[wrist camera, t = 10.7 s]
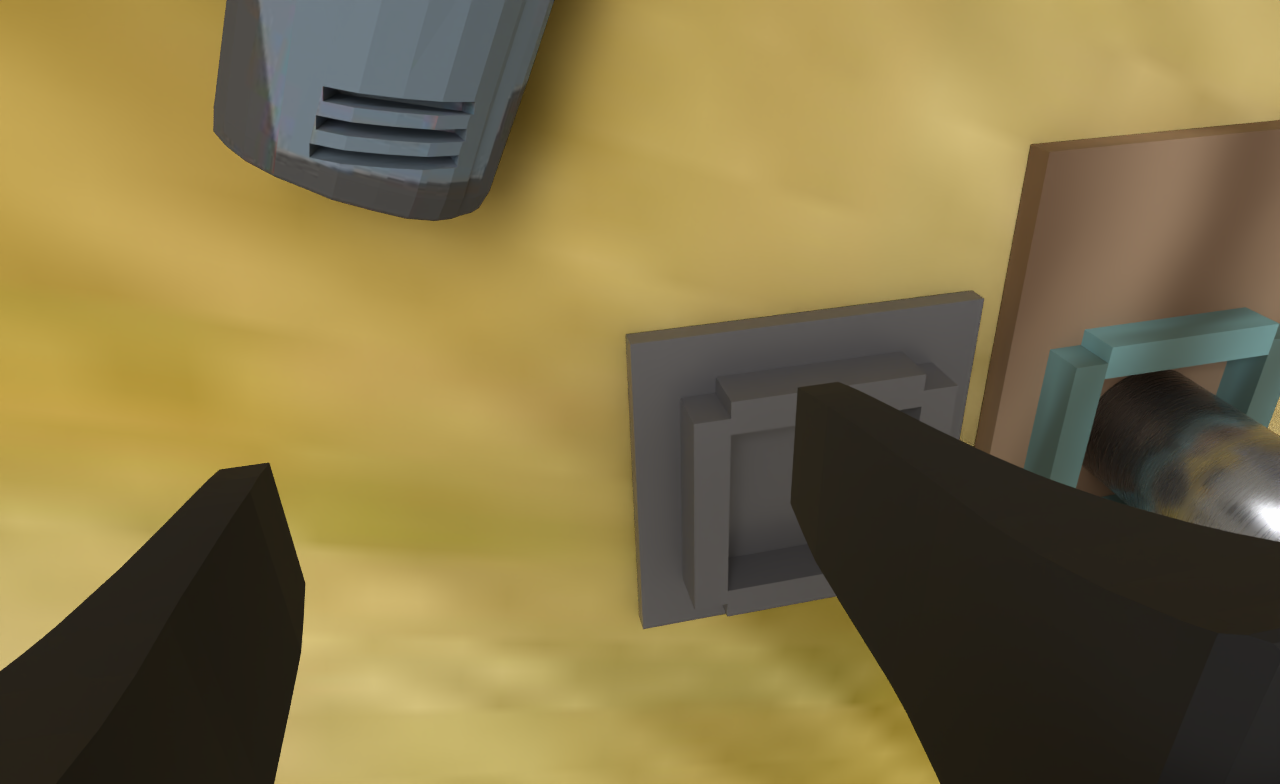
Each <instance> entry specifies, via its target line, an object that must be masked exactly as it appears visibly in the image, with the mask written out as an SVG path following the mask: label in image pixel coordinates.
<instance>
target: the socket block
mask: <svg viewBox="0 0 1280 784" xmlns="http://www.w3.org/2000/svg"><path fill="white" fill-rule="evenodd" d="M983 302H984V298H982V297H981V296H980V295H978V294H977V293H975V292H974V291H964V292H956V293H949V294H941V295H933V296H925V297H917V298H909V299H901V300H893V301H886V302H878V303H870V304H862V305H854V306H846V307H838V308H830V309H823V310H815V311H807V312H799V313H791V314H783V315H775V316H767V317H760V318H752V319H744V320H736V321H728V322H720V323H712V324H704V325H697V326H689V327H681V328H673V329H665V330H657V331H649V332H641V333H634V334H626V354H627V374H628V395H629V416H630V437H631V458H632V479H633V499H634V520H635V541H636V562H637V583H638V604H639V617H640V620H641V624H642V627H643V629H646V628H652V627H657V626H662V625H668V624H673V623H679V622H684V621H689V620H695V619H700V618H705V617H711V616H716V615H722V614H726V615H727V616H733V615H738V614H744V613H749V612H754V611H760V610H765V609H770V608H776V607H781V606H787V605H792V604H797V603H803V602H808V601H813V600H819V599H824V598H829V597H835V596H836V595H835V593H834V591H833V590H832V588H831V586H830V585H829V583H828V581H827V580H826V578H825V577H824V575H823V573H822V572H821V570H820V568H819V566H818V565H817V563H816V561H815V559H814V557H813V555H812V553H811V551H810V548H809V546H808V544H807V542H806V540H805V537H804V535H803V533H802V530H801V528H800V525H799V523H798V521H797V518H796V516H795V513H794V511H793V509H792V506H791V504H790V500H791V484H792V469H793V453H794V437H795V421H796V406H797V390H798V387H804V386H811V385H818V384H825V383H832V382H840V383H843V384H845V385H848V386H850V387H852V388H855V389H857V390H859V391H861V392H863V393H865V394H867V395H869V396H872V397H874V398H876V399H878V400H880V401H882V402H884V403H886V404H888V405H890V406H892V407H894V408H896V409H897V410H899V411H901V412H903V413H905V414H907V415H909V416H911V417H913V418H915V419H917V420H919V421H921V422H923V423H925V424H927V425H929V426H931V427H933V428H935V429H937V430H939V431H941V432H943V433H945V434H947V435H950V436H952V437H954V438H956V439H958V440H959V439H960V433H961V427H962V422H963V416H964V410H965V405H966V399H967V393H968V388H969V382H970V376H971V370H972V365H973V359H974V353H975V348H976V342H977V336H978V331H979V325H980V319H981V313H982V308H983Z"/></svg>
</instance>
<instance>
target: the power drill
mask: <svg viewBox="0 0 1280 784" xmlns="http://www.w3.org/2000/svg"><path fill="white" fill-rule="evenodd" d="M553 3H554V0H227V2H226V10H225V18H224V27H223V35H222V44H221V52H220V60H219V69H218V77H217V85H216V94H215V102H214V127H213V131H214V132H215V134H216V135H217V136H218V137H219V138H220V139H221V141H222V142H223V143H224V144H225V145H226V146H227V147H228V148H229V149H231V150H232V151H233V152H235V153H236V154H237V155H238V156H240V157H241V158H242V159H244V160H245V161H246V162H248V163H250V164H252V165H254V166H256V167H258V168H260V169H261V170H263V171H265V172H267V173H269V174H271V175H273V176H275V177H277V178H280V179H282V180H285V181H287V182H290V183H292V184H295V185H297V186H300V187H302V188H305V189H307V190H310V191H312V192H314V193H317V194H319V195H322V196H324V197H327V198H329V199H331V200H335V201H339V202H342V203H346V204H350V205H353V206H357V207H361V208H365V209H368V210H372V211H376V212H381V213H385V214H389V215H393V216H398V217H402V218H406V219H418V220H431V221H437V220H445V219H452V218H455V217H458V216H460V215H464V214H468V213H471V212H473V211H474V210H476V209H478V208H479V207H480V205H481V203H482V202H483V200H484V199H485V197H486V196H487V194H488V192H489V191H490V188H491V185H492V182H493V179H494V176H495V173H496V171H497V168H498V165H499V162H500V159H501V156H502V153H503V150H504V148H505V145H506V142H507V139H508V136H509V133H510V130H511V127H512V125H513V122H514V119H515V116H516V113H517V110H518V107H519V105H520V102H521V99H522V96H523V93H524V90H525V87H526V84H527V82H528V79H529V76H530V73H531V69H532V66H533V63H534V60H535V57H536V54H537V51H538V48H539V45H540V42H541V39H542V36H543V33H544V30H545V27H546V24H547V21H548V18H549V15H550V12H551V9H552V6H553Z"/></svg>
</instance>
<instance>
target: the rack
mask: <svg viewBox="0 0 1280 784" xmlns="http://www.w3.org/2000/svg"><path fill="white" fill-rule="evenodd" d="M1169 369H1172V370H1175V371H1177V372H1179V373H1181V374H1183V375H1184V376H1186V377H1187V378H1189V379H1191V380H1192V381H1194V382H1195V383H1197V384H1198V385H1200V386H1202V387H1203V388H1205V389H1206V390H1208V391H1209V392H1211V393H1213V394H1214V395H1216V396H1217V397H1219V398H1221V399H1222V400H1224V401H1225V402H1227V403H1228V404H1230V405H1232V406H1233V407H1235V408H1236V409H1238V410H1239V411H1241V412H1243V413H1244V414H1246V415H1247V416H1249V417H1251V418H1252V419H1254V420H1255V421H1257V422H1258V423H1260V424H1262V425H1263V426H1265V427H1266V428H1268V425H1269V423H1270V420H1271V418H1272V415H1273V412H1274V410H1275V407H1276V404H1277V402H1278V399H1279V397H1280V120H1277V121H1267V122H1257V123H1246V124H1236V125H1226V126H1216V127H1205V128H1195V129H1185V130H1174V131H1164V132H1154V133H1143V134H1133V135H1123V136H1113V137H1102V138H1092V139H1082V140H1071V141H1061V142H1051V143H1041V144H1031V147H1030V152H1029V158H1028V163H1027V168H1026V174H1025V179H1024V185H1023V190H1022V195H1021V201H1020V206H1019V211H1018V217H1017V222H1016V227H1015V233H1014V238H1013V243H1012V249H1011V254H1010V260H1009V265H1008V270H1007V276H1006V281H1005V286H1004V292H1003V297H1002V302H1001V308H1000V313H999V318H998V324H997V329H996V334H995V340H994V345H993V351H992V356H991V361H990V367H989V372H988V377H987V383H986V388H985V393H984V399H983V404H982V409H981V415H980V420H979V425H978V431H977V436H976V442H975V448H977V449H979V450H981V451H984V452H986V453H988V454H990V455H993V456H995V457H997V458H1000V459H1002V460H1004V461H1007V462H1009V463H1011V464H1014V465H1016V466H1018V467H1021V468H1023V469H1025V470H1028V471H1030V472H1033V473H1035V474H1038V475H1040V476H1043V477H1046V478H1048V479H1051V480H1053V481H1056V482H1059V483H1062V484H1065V485H1068V486H1071V487H1073V488H1076V489H1079V490H1082V491H1085V492H1088V493H1091V494H1094V495H1096V496H1099V497H1102V498H1105V499H1108V500H1112V501H1115V502H1118V503H1121V504H1125V505H1127V504H1126V503H1125V502H1124V501H1123V500H1121V499H1120V498H1119V497H1118V496H1117V495H1116V494H1115V493H1113V492H1112V491H1111V490H1110V489H1109V488H1108V487H1106V486H1105V485H1104V484H1103V483H1102V482H1101V481H1100V480H1098V479H1097V478H1096V477H1095V476H1094V475H1093V474H1091V473H1090V472H1089V471H1088V470H1087V469H1086V468H1085V467H1084V466H1083V465H1082V463H1083V459H1084V456H1085V452H1086V448H1087V444H1088V440H1089V437H1090V433H1091V429H1092V425H1093V421H1094V418H1095V414H1096V410H1097V406H1098V402H1099V399H1100V398H1101V397H1102V396H1103V395H1104V394H1105V393H1106V392H1107V391H1108V390H1109V389H1111V388H1112V387H1113V386H1114V385H1116V384H1117V383H1119V382H1120V381H1122V380H1124V379H1125V378H1127V377H1129V376H1131V375H1136V374H1143V373H1149V372H1156V371H1163V370H1169Z"/></svg>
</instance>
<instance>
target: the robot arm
mask: <svg viewBox="0 0 1280 784" xmlns="http://www.w3.org/2000/svg"><path fill="white" fill-rule="evenodd" d="M790 504H791V506H792V509H793V511H794V513H795V516H796V518H797V521H798V523H799V525H800V528H801V530H802V533H803V535H804V537H805V540H806V542H807V544H808V546H809V548H810V551H811V553H812V555H813V557H814V559H815V561H816V563H817V565H818V566H819V568H820V570H821V572H822V573H823V575H824V577H825V578H826V580H827V581H828V583H829V585H830V586H831V588H832V590H833V591H834V593H835V595H836V596H837V598H838V600H839V601H840V603H841V605H842V606H843V608H844V609H845V611H846V613H847V614H848V616H849V617H850V619H851V621H852V622H853V624H854V625H855V627H856V629H857V630H858V632H859V633H860V635H861V637H862V638H863V640H864V642H865V643H866V645H867V646H868V648H869V650H870V651H871V653H872V654H873V656H874V658H875V659H876V661H877V663H878V664H879V666H880V667H881V669H882V671H883V672H884V674H885V675H886V677H887V679H888V680H889V682H890V684H891V685H892V687H893V689H894V691H895V693H896V694H897V696H898V698H899V700H900V701H901V703H902V705H903V707H904V709H905V710H906V712H907V714H908V717H909V719H910V721H911V723H912V725H913V727H914V729H915V731H916V733H917V735H918V737H919V740H920V742H921V744H922V746H923V748H924V750H925V752H926V754H927V756H928V758H929V760H930V762H931V765H932V767H933V769H934V771H935V773H936V775H937V777H938V780H939V782H940V784H1280V542H1278V541H1273V540H1268V539H1263V538H1258V537H1253V536H1248V535H1243V534H1238V533H1233V532H1228V531H1224V530H1220V529H1215V528H1211V527H1207V526H1203V525H1198V524H1194V523H1190V522H1186V521H1182V520H1179V519H1175V518H1171V517H1168V516H1164V515H1160V514H1157V513H1153V512H1149V511H1146V510H1142V509H1138V508H1135V507H1131V506H1128V505H1125V504H1121V503H1118V502H1115V501H1112V500H1108V499H1105V498H1102V497H1099V496H1096V495H1094V494H1091V493H1088V492H1085V491H1082V490H1079V489H1076V488H1073V487H1071V486H1068V485H1065V484H1062V483H1059V482H1056V481H1053V480H1051V479H1048V478H1046V477H1043V476H1040V475H1038V474H1035V473H1033V472H1030V471H1028V470H1025V469H1023V468H1021V467H1018V466H1016V465H1014V464H1011V463H1009V462H1007V461H1004V460H1002V459H1000V458H997V457H995V456H993V455H990V454H988V453H986V452H984V451H981V450H979V449H977V448H975V447H973V446H971V445H968V444H966V443H964V442H962V441H960V440H958V439H956V438H954V437H952V436H950V435H947V434H945V433H943V432H941V431H939V430H937V429H935V428H933V427H931V426H929V425H927V424H925V423H923V422H921V421H919V420H917V419H915V418H913V417H911V416H909V415H907V414H905V413H903V412H901V411H899V410H897V409H896V408H894V407H892V406H890V405H888V404H886V403H884V402H882V401H880V400H878V399H876V398H874V397H872V396H869V395H867V394H865V393H863V392H861V391H859V390H857V389H855V388H852V387H850V386H848V385H845V384H843V383H840V382H832V383H825V384H818V385H811V386H804V387H798V390H797V406H796V421H795V437H794V453H793V469H792V484H791V500H790ZM304 599H305V581H304V578H303V574H302V571H301V567H300V564H299V561H298V557H297V554H296V551H295V547H294V544H293V541H292V537H291V534H290V531H289V527H288V524H287V521H286V517H285V514H284V511H283V507H282V504H281V500H280V497H279V494H278V490H277V487H276V484H275V480H274V477H273V474H272V470H271V467H270V464H269V463H263V464H256V465H249V466H242V467H235V468H228V469H221V470H219V471H217V472H216V473H215V474H214V475H213V476H212V477H211V478H210V479H209V480H208V481H207V482H206V483H205V484H204V485H203V486H202V487H201V488H200V489H199V490H198V491H197V492H196V493H195V494H194V495H193V496H192V497H191V498H190V499H189V500H188V501H187V502H186V503H185V504H184V505H183V506H182V507H181V508H180V509H179V510H178V511H177V512H176V513H175V514H174V515H173V516H172V517H171V518H170V519H169V520H168V521H167V522H166V523H165V524H164V525H163V526H162V527H161V528H160V529H159V530H158V531H157V532H156V533H155V534H154V535H153V536H152V537H151V538H150V539H149V540H148V541H147V542H146V543H145V544H144V545H143V546H142V547H141V548H140V549H139V550H138V551H137V552H136V553H135V554H134V555H133V556H132V557H131V558H130V559H129V560H128V561H127V562H126V563H125V564H124V565H123V566H122V567H121V568H120V569H119V570H118V571H117V572H116V573H115V574H113V575H112V576H111V577H110V578H109V579H108V580H107V581H106V582H105V583H104V584H102V585H101V586H100V587H99V588H98V589H97V590H96V591H95V592H94V593H93V594H91V595H90V596H89V597H88V598H87V599H86V600H85V601H84V602H83V603H82V604H80V605H79V606H78V607H77V608H76V609H75V610H74V611H73V612H72V613H70V614H69V615H68V616H67V617H66V618H65V619H64V620H63V621H62V622H61V623H59V624H58V625H57V626H56V627H55V628H54V629H52V630H51V631H50V632H49V633H48V634H47V635H45V636H44V637H43V638H42V639H41V640H39V641H38V642H37V643H36V644H34V645H33V646H32V647H31V648H29V649H28V650H27V651H26V652H25V653H23V654H22V655H21V656H20V657H18V658H17V659H16V660H14V661H13V662H12V663H10V664H9V665H8V666H7V667H5V668H4V669H3V670H1V671H0V784H274V781H275V776H276V772H277V767H278V762H279V757H280V753H281V748H282V743H283V738H284V734H285V729H286V724H287V719H288V715H289V710H290V705H291V700H292V695H293V690H294V685H295V680H296V675H297V670H298V665H299V660H300V655H301V646H302V633H303V619H304Z"/></svg>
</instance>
